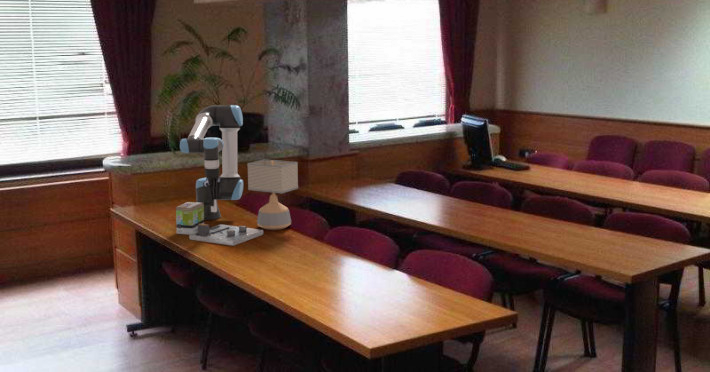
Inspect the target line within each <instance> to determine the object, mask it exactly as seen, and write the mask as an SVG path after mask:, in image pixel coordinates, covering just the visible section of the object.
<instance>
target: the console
mask: <svg viewBox="0 0 710 372" xmlns="http://www.w3.org/2000/svg"><path fill="white" fill-rule="evenodd" d="M263 235H264V229H259V228H250V227H247V225H240V226H237V225H236V226H235V225H228V224H221V223H220V224H218V225H215V226H212V227H209V234H206V235H200V234H198V232H194V233H193V234H188V237H189V240H191V241H198V242H204V243H206V242H207V243H211V244H212V243H213V244H217V245H226V246H233V247H235V246H236V245H239V244H241V243H245V242H247V241H249V240H252V239H255V238H258V237H261V236H263Z"/></svg>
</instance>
